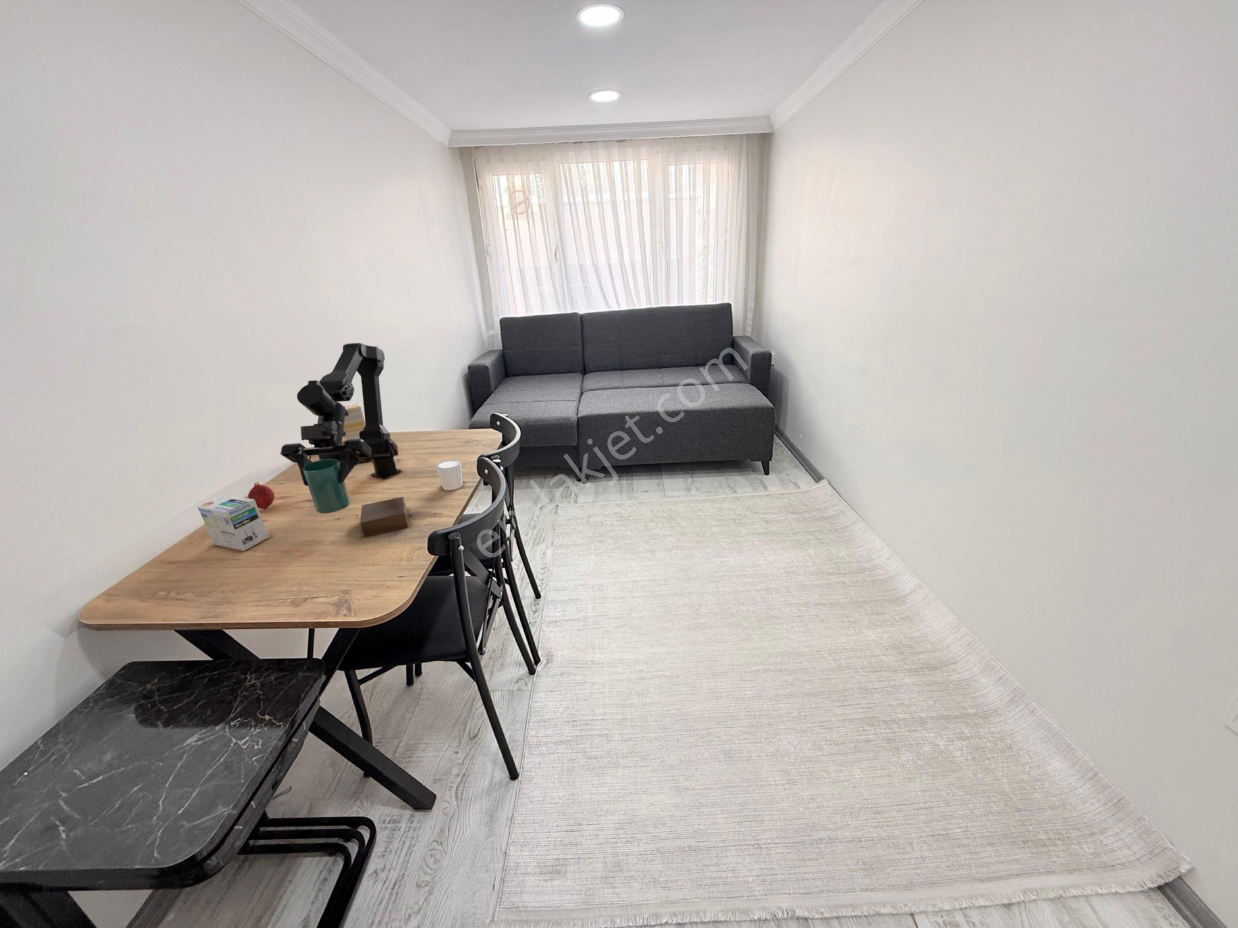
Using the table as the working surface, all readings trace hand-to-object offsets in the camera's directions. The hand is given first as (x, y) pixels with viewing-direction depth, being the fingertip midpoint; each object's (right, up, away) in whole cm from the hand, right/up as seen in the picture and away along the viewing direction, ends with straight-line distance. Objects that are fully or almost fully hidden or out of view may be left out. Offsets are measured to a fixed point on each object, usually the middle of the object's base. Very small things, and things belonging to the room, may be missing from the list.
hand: (323, 484), depth 116 cm
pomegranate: (-27, -8, +19) cm, 34 cm away
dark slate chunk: (-19, +7, +52) cm, 56 cm away
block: (+11, -10, +9) cm, 17 cm away
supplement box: (-28, +13, +68) cm, 74 cm away
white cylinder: (+21, -2, +28) cm, 35 cm away
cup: (0, -6, +4) cm, 7 cm away
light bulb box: (-22, -14, +4) cm, 26 cm away
